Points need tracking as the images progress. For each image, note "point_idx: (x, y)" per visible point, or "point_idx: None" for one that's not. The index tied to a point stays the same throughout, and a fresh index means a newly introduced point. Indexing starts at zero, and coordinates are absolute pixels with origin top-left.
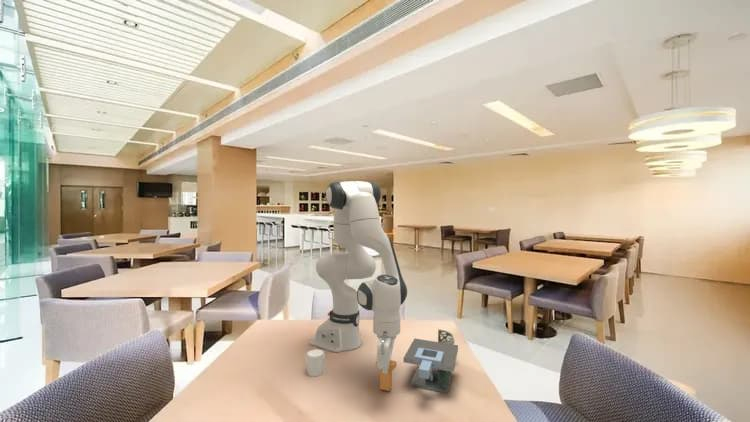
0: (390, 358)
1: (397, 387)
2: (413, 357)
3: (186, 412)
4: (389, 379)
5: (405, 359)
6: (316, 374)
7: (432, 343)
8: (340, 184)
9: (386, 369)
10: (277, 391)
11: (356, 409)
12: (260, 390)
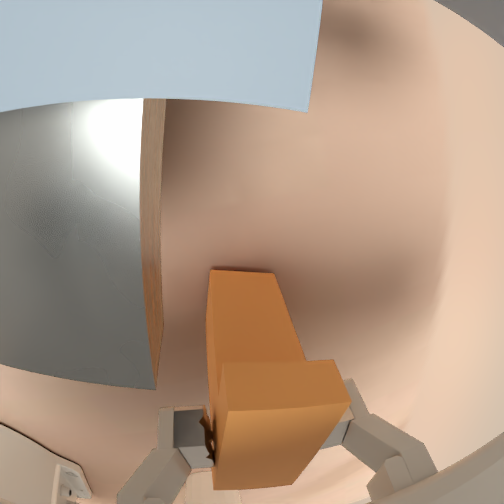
0: (476, 485)
1: (195, 228)
2: (20, 185)
3: None
4: (278, 320)
5: (155, 338)
6: None
7: None
8: None
9: (360, 409)
10: (317, 481)
11: (404, 347)
12: (316, 490)
